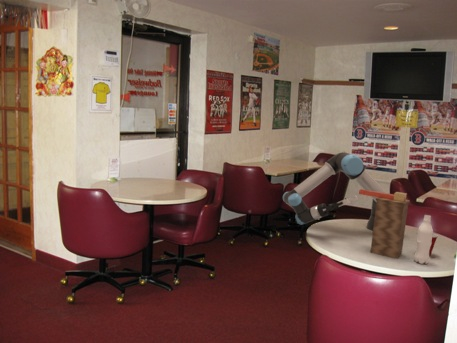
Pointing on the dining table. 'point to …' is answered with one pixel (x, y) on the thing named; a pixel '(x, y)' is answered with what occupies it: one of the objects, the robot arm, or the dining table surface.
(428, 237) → the water bottle
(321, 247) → the dining table surface
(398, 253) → the stand
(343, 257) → the dining table surface
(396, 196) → the lever
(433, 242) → the plastic cup
